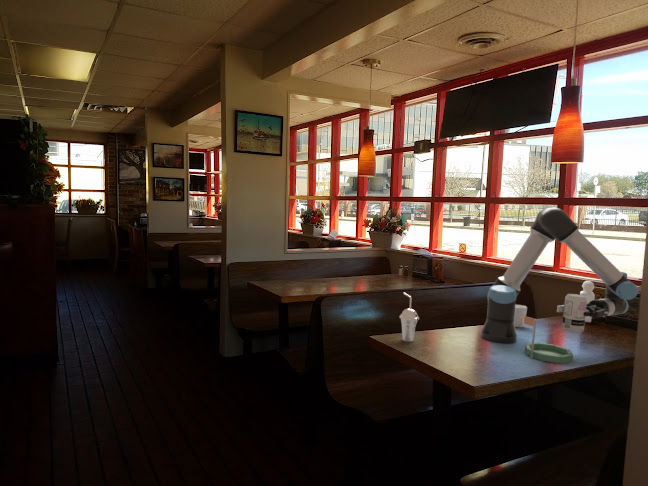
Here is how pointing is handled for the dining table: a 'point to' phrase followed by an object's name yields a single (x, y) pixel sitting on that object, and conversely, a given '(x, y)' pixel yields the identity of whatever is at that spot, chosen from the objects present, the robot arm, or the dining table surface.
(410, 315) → the cup with straw
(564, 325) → the supplement can
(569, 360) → the cup
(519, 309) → the white cup
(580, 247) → the robot arm
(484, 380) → the dining table surface
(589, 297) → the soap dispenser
